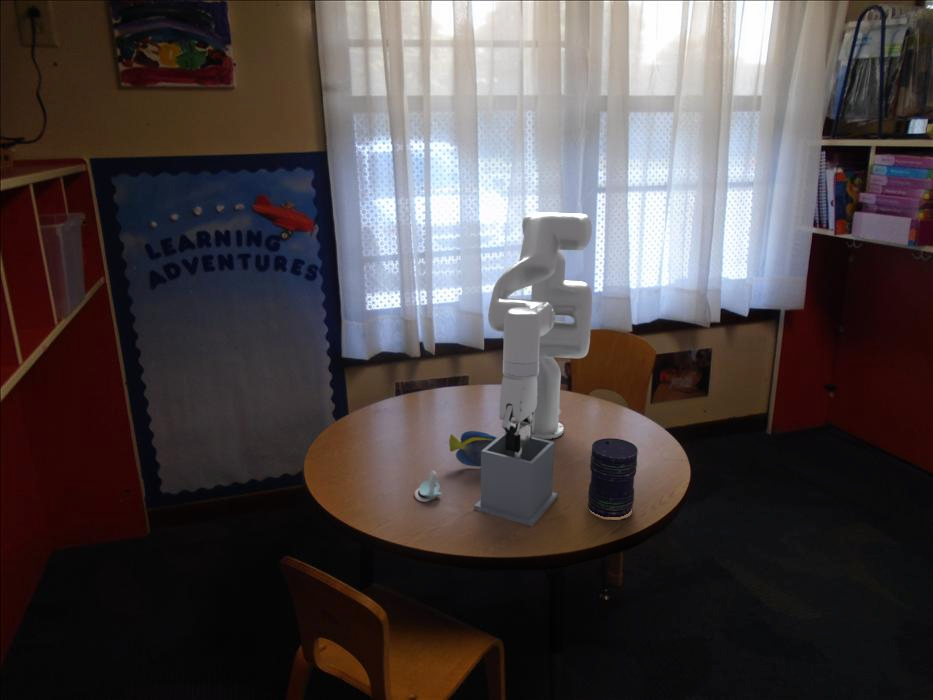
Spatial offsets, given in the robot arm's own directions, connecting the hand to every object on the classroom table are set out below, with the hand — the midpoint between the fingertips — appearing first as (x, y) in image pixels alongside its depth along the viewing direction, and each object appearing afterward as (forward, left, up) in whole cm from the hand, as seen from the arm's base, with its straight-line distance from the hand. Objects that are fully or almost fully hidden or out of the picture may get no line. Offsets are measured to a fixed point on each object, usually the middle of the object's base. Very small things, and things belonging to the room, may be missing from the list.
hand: (518, 444), depth 150 cm
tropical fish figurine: (-11, -15, -15) cm, 24 cm away
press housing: (0, 0, -14) cm, 14 cm away
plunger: (0, 0, -11) cm, 11 cm away
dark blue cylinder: (-8, +19, -15) cm, 25 cm away
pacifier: (+7, -19, -15) cm, 25 cm away
